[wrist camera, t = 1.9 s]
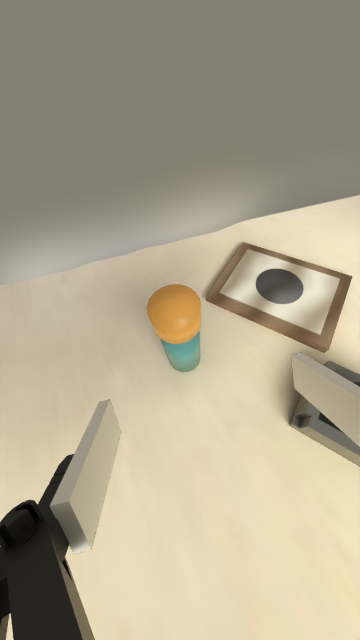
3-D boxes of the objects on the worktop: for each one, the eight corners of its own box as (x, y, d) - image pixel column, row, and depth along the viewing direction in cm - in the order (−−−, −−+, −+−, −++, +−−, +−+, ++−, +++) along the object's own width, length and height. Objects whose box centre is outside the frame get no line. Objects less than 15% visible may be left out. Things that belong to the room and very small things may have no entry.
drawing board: (206, 300, 34) (206, 295, 33) (242, 247, 40) (243, 240, 38) (324, 352, 28) (330, 348, 27) (347, 281, 34) (353, 275, 32)
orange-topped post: (161, 362, 30) (136, 314, 19) (179, 335, 32) (166, 277, 20) (190, 379, 28) (182, 339, 17) (207, 350, 30) (210, 296, 19)
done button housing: (289, 425, 24) (301, 423, 21) (309, 367, 28) (323, 358, 24) (368, 471, 22) (395, 476, 19) (381, 401, 25) (406, 395, 22)
